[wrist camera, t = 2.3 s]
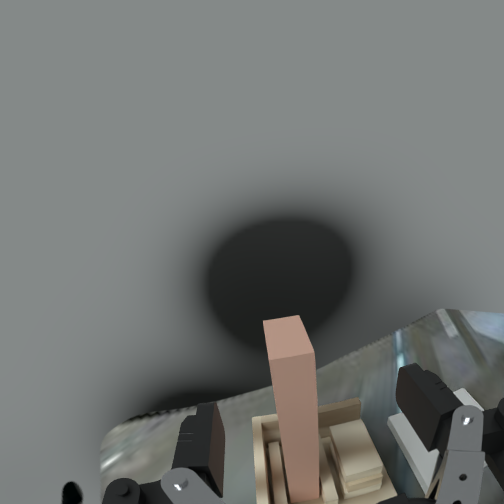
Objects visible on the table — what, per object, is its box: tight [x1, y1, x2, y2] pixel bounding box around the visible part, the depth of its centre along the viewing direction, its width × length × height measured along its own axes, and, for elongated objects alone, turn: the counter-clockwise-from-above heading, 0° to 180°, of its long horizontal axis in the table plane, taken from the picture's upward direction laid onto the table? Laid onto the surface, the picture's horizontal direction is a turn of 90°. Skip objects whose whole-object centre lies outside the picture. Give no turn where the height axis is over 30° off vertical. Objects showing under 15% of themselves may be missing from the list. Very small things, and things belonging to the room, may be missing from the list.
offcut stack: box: [329, 419, 383, 499], centre depth 26 cm, size 8×4×4 cm, turn 2°
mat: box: [387, 388, 488, 495], centre depth 27 cm, size 14×13×2 cm
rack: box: [252, 397, 397, 504], centre depth 24 cm, size 20×14×6 cm
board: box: [263, 315, 319, 503], centre depth 24 cm, size 6×3×20 cm, turn 2°
